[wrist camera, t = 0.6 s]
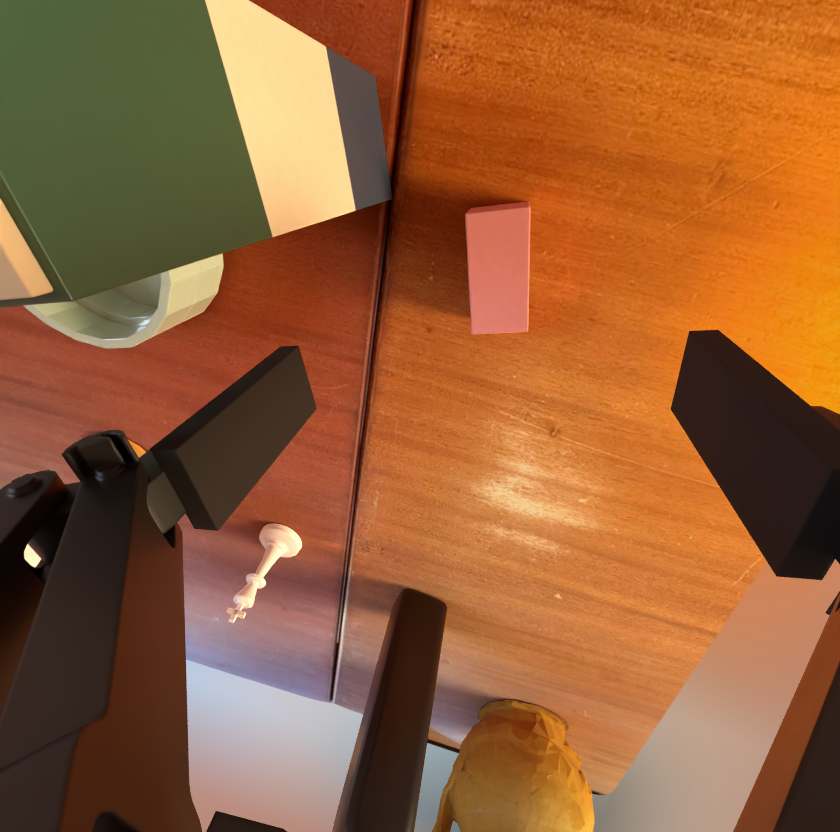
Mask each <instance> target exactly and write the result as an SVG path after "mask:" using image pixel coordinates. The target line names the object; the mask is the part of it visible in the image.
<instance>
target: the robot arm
mask: <svg viewBox="0 0 840 832" xmlns="http://www.w3.org/2000/svg"><path fill="white" fill-rule="evenodd" d="M316 409H317V408H316V405H315V401H314V398H313V394H312V391H311V387H310V384H309V380H308V377H307V373H306V370H305V366H304V363H303V359H302V356H301V352H300V349H299V346H283V347H279V348H278V349H277V350H276V351H274V352H273V353H272V354H270V355H269V356H268V357H267V358H265V359H264V360H263V361H262V362H260V363H259V364H258V365H256V366H255V367H254V368H253V369H251V370H250V371H249V372H247V373H246V374H245V375H244V376H242V377H241V378H240V379H239V380H237V381H236V382H235V383H233V384H232V385H231V386H230V387H228V388H227V389H226V390H224V391H223V392H222V393H221V394H219V395H218V396H217V397H216V398H214V399H213V400H212V401H210V402H209V403H208V404H207V405H205V406H204V407H203V408H201V409H200V410H199V411H198V412H196V413H195V414H194V415H193V416H191V417H190V418H189V419H187V420H186V421H185V422H184V423H182V424H181V425H180V426H178V427H177V428H176V429H175V430H173V431H172V432H171V433H170V434H168V435H167V436H166V437H164V438H163V439H162V440H161V441H159V442H158V443H157V444H155V445H154V446H153V447H152V448H150V450H148V451H147V452H146V453H145V454H143V455H142V456H141V457H138V456H137V454H136V452H135V451H134V449H133V447H132V446H131V444H130V442H129V440H128V439H127V437H126V435H125V434H124V432H123V431H120V430H108V431H104V432H100V433H96V434H94V435H91V436H88V437H86V438H84V439H82V440H80V441H78V442H76V443H74V444H73V445H71V446H70V447H68V448H67V449H66V450H65V451H64V452H63V454H62V456H63V457H64V459H65V460H66V462H67V463H68V464H69V466H70V467H71V469H72V470H73V471H74V473H75V474H76V476H77V477H78V478H79V480H80V482H78V483H72V484H67V485H65V484H64V483H63V481H62V480H61V479H60V477H59V476H58V475H57V473H56V472H55V471H50V470H47V471H39V472H36V473H33V474H26V475H24V476H22V477H19V478H17V479H15V480H13V481H12V482H11V483H10V484H8V485H6V486H5V487H3V488H2V489H1V490H0V832H202V829H201V824H200V820H199V817H198V815H197V812H196V809H195V807H194V804H193V802H192V798H191V793H190V786H189V765H188V764H189V761H188V725H187V691H186V652H185V616H184V579H183V543H182V531H181V529H180V527H179V525H178V523H177V522H178V521H179V519H180V518H181V517H182V516H183V515H184V514H185V513H186V514H187V516H188V518H189V520H190V521H191V523H192V525H193V527H194V529H204V530H216V531H218V530H219V529H220V528H221V526H222V525H223V524H224V523H225V521H226V520H227V519H228V518H229V516H230V515H231V514H232V513H233V512H234V510H235V509H236V508H237V507H238V505H239V504H240V503H241V502H242V500H243V499H244V498H245V497H246V495H247V494H248V493H249V492H250V490H251V489H252V488H253V487H254V486H255V484H256V483H257V482H258V481H259V479H260V478H261V477H262V476H263V474H264V473H265V472H266V471H267V469H268V468H269V467H270V466H271V464H272V463H273V462H274V461H275V460H276V458H277V457H278V456H279V455H280V453H281V452H282V451H283V450H284V448H285V447H286V446H287V445H288V443H289V442H290V441H291V440H292V439H293V437H294V436H295V435H296V434H297V432H298V431H299V430H300V429H301V427H302V426H303V425H304V424H305V422H306V421H307V420H308V419H309V417H310V416H311V415H312V414H313V413H314V411H315V410H316ZM671 410H672V412H673V413H674V415H675V417H676V418H677V420H678V421H679V423H680V424H681V426H682V428H683V429H684V431H685V432H686V434H687V435H688V437H689V439H690V440H691V442H692V443H693V445H694V447H695V448H696V450H697V451H698V453H699V454H700V456H701V458H702V459H703V461H704V462H705V464H706V466H707V467H708V469H709V470H710V472H711V473H712V475H713V477H714V478H715V480H716V481H717V483H718V485H719V486H720V488H721V489H722V491H723V492H724V494H725V496H726V497H727V499H728V500H729V502H730V503H731V505H732V507H733V508H734V510H735V511H736V513H737V515H738V516H739V518H740V519H741V521H742V522H743V524H744V526H745V527H746V529H747V530H748V532H749V534H750V535H751V537H752V538H753V540H754V541H755V543H756V545H757V546H758V548H759V549H760V551H761V553H762V554H763V556H764V557H765V559H766V560H767V562H768V564H769V565H770V567H771V568H772V570H773V571H774V573H775V574H776V576H779V577H791V578H804V579H816V580H822V579H823V578H824V576H825V575H826V573H827V571H828V570H829V568H830V566H831V565H832V563H833V561H834V560H835V559H836V560H837V561H838V562H839V564H840V414H837V413H835V412H833V411H831V410H829V409H826V408H824V407H822V406H810V405H809V404H808V403H806V402H805V401H804V400H803V399H801V398H800V397H799V396H798V395H797V394H795V393H794V392H793V391H792V390H790V389H789V388H788V387H787V386H786V385H784V384H783V383H782V382H781V381H780V380H778V379H777V378H776V377H775V376H773V375H772V374H771V373H770V372H769V371H767V370H766V369H765V368H764V367H763V366H761V365H760V364H759V363H758V362H756V361H755V360H754V359H753V358H752V357H750V356H749V355H748V354H747V353H746V352H744V351H743V350H742V349H741V348H739V347H738V346H737V345H736V344H735V343H733V342H732V341H731V340H730V339H729V338H727V337H726V336H725V335H724V334H722V333H721V332H720V331H719V330H704V331H689V335H688V339H687V343H686V347H685V352H684V356H683V360H682V364H681V368H680V373H679V377H678V381H677V385H676V390H675V394H674V398H673V402H672V406H671ZM27 544H28V545H29V546H30V547H31V548H32V549H33V550H34V552H35V553H36V554H37V555H38V556H39V557H40V558H41V560H40V562H39V563H38V565H37V566H36V567H33V566H31V565H30V564H29V563H28V562H27V561H26V560H25V559H24V551H25V549H26V546H27ZM826 613H827V614H829V615H830V616H829V618H828V620H827V623H826V625H825V627H824V629H823V632H822V634H821V636H820V638H819V641H818V643H817V645H816V647H815V649H814V652H813V654H812V656H811V658H810V661H809V663H808V665H807V668H806V670H805V672H804V674H803V676H802V679H801V681H800V683H799V685H798V688H797V690H796V692H795V694H794V697H793V699H792V701H791V703H790V706H789V708H788V710H787V712H786V715H785V717H784V719H783V722H782V724H781V726H780V728H779V730H778V733H777V735H776V737H775V739H774V742H773V744H772V746H771V748H770V750H769V753H768V755H767V757H766V760H765V762H764V764H763V766H762V768H761V771H760V773H759V775H758V777H757V780H756V782H755V784H754V787H753V789H752V791H751V793H750V796H749V798H748V800H747V802H746V804H745V807H744V809H743V811H742V814H741V816H740V818H739V820H738V823H737V825H736V827H735V829H734V831H733V832H840V592H839V593H838V595H837V596H836V598H835V599H834V601H833V602H832V604H831V605H830V607H829V608H828V610H827V611H826ZM207 832H287V831H285V830H284V829H282V828H278V827H274V826H270V825H267V824H263V823H259V822H256V821H252V820H248V819H244V818H241V817H237V816H233V815H229V814H225V813H222V812H218V811H216V812H215V814H214V816H213V819H212V821H211V823H210V825H209V827H208V829H207Z"/></svg>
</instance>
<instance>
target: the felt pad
mask: <svg viewBox="0 0 840 832" xmlns="http://www.w3.org/2000/svg"><path fill="white" fill-rule="evenodd" d="M52 291H53V288H52V286H51V284H50V283H49V281H48V279H47V277H46V276H45V274H44V272H43V271H42V269H41V267H40V265H39V264H38V262H37V260H36V259H35V257H34V255H33V253H32V252H31V250H30V248H29V247H28V245H27V243H26V241H25V240H24V238H23V236H22V234H21V233H20V231H19V229H18V228H17V226H16V224H15V222H14V221H13V219H12V217H11V216H10V214H9V212H8V210H7V209H6V207H5V205H4V204H3V202H2V200H1V198H0V300H8V299H20V298H31V297H36V296H40V295H43V294H47V293H50V292H52Z"/></svg>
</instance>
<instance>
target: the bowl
mask: <svg viewBox="0 0 840 832" xmlns="http://www.w3.org/2000/svg"><path fill="white" fill-rule="evenodd" d="M223 265H224V263H223V253H222V254H219V255H216V256H213V257H210V258H207V259H203V260H200V261H197V262H194V263H191V264H188V265H185V266H182V267H178V268H175V269H172V270H169V271H166V272H163V273H160V274H157V275H153V276H150V277H147V278H144V279H141V280H138V281H135V282H132V283H128V284H125V285H122V286H119V287H116V288H113V289H110V290H107V291H103V292H100V293H97V294H94V295H91V296H88V297H85V298H82V299H78V300H75V301H72V302H60V303H48V304H36V305H24V307H25V308H27V309H28V310H29V311H30V312H32V313H33V314H34V315H35V316H36V317H38V318H39V319H40V320H41V321H43V322H44V323H46V324H47V325H49V326H51V327H52V328H54V329H56V330H58V331H60V332H62V333H63V334H65V335H67V336H69V337H71V338H73V339H74V340H77V341H81V342H84V343H88V344H92V345H95V346H99V347H102V348H128V347H134V346H136V345H138V344H140V343H142V342H144V341H146V340H148V339H151V338H153V337H155V336H157V335H159V334H161V333H163V332H165V331H167V330H169V329H171V328H173V327H175V326H177V325H179V324H181V323H183V322H185V321H187V320H189V319H191V318H193V317H195V316H197V315H199V314H200V313H202V312H204V311H205V309H206V308H207V307H208V305H209V304H210V302H211V301H212V300H213V298H214V297H215V296H216V294H217V292H218V289H219V285H220V280H221V276H222V272H223V267H224V266H223Z"/></svg>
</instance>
